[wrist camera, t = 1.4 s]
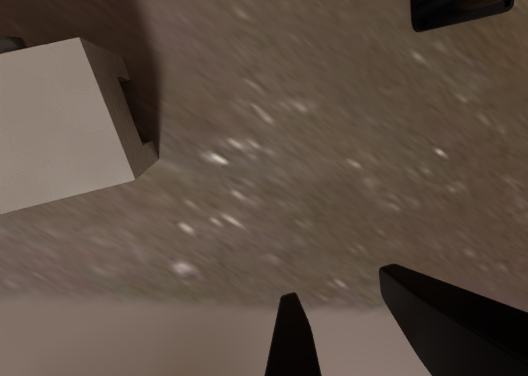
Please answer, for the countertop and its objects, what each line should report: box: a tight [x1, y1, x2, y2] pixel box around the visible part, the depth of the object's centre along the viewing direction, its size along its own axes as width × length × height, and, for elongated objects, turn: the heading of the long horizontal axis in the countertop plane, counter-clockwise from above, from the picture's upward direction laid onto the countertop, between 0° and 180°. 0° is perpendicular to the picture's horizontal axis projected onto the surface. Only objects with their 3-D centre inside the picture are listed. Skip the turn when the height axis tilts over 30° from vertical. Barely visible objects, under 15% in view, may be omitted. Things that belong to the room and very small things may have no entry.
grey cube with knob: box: [0, 37, 159, 214], centre depth 14 cm, size 7×7×5 cm
